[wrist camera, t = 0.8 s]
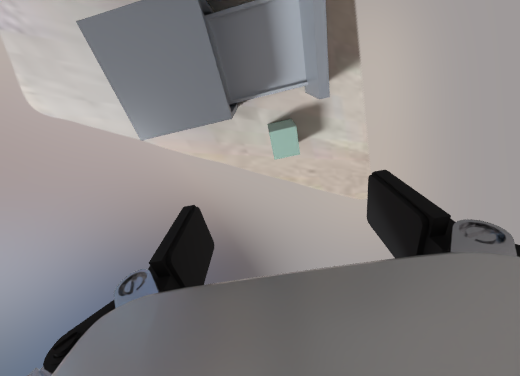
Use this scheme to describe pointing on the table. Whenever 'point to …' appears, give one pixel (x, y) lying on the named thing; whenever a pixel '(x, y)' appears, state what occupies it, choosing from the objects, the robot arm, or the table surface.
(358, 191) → the table surface
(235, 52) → the drawer
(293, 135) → the block
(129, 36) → the grey box
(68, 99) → the table surface
